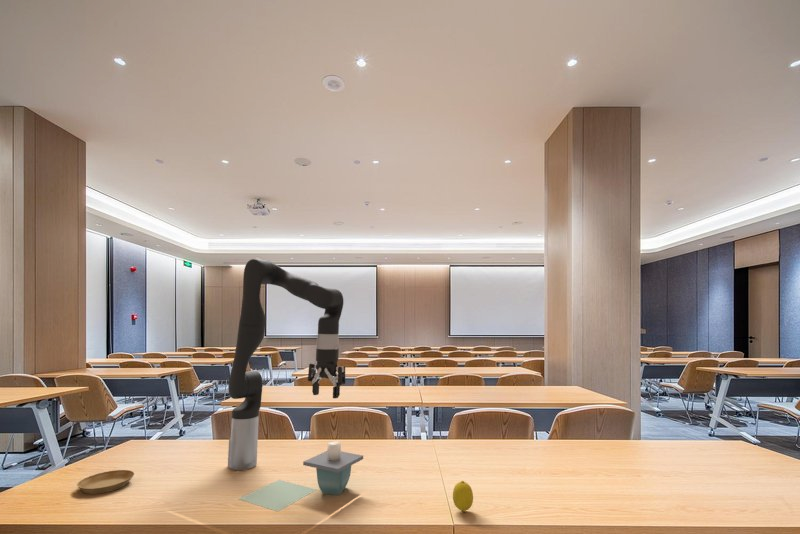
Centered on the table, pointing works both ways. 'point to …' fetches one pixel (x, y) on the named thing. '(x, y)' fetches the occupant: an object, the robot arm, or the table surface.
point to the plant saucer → (105, 481)
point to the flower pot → (333, 480)
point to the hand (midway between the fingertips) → (325, 396)
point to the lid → (333, 459)
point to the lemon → (462, 496)
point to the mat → (277, 495)
